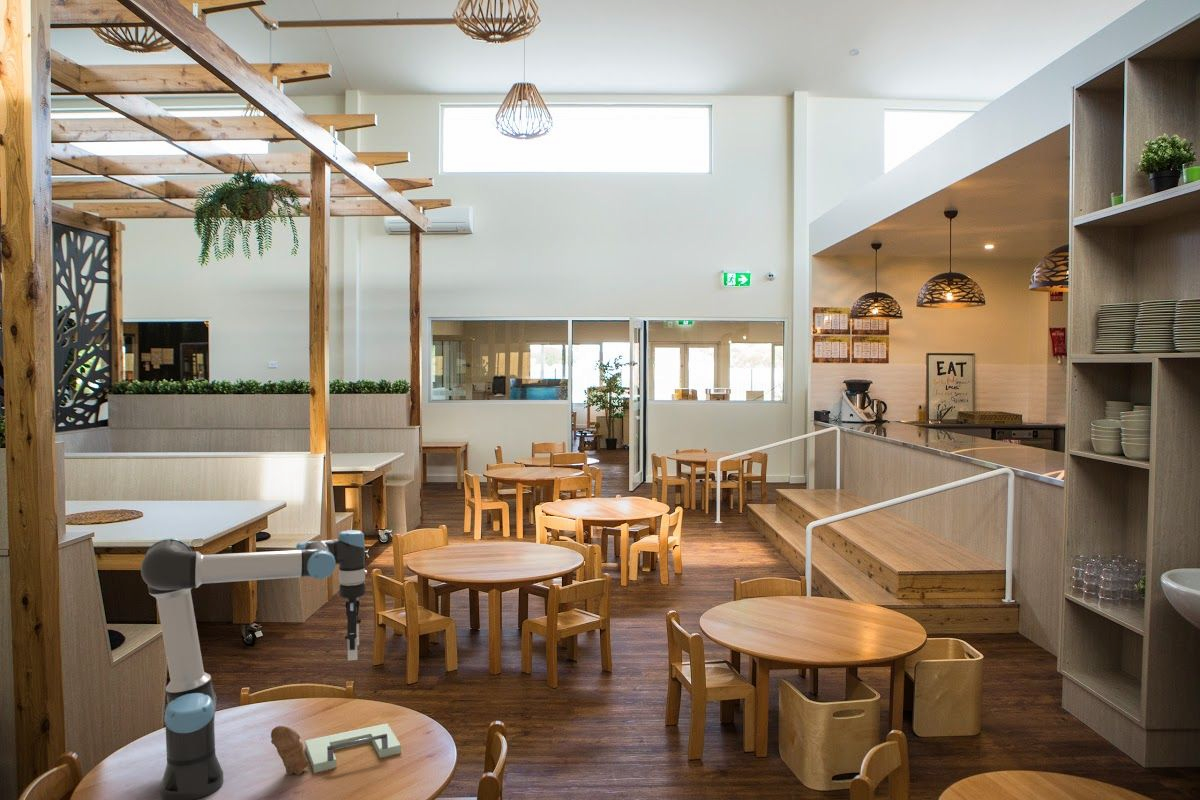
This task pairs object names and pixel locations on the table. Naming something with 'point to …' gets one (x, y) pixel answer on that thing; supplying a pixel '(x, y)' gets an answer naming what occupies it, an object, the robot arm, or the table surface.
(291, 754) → the figurine
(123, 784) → the table surface
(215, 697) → the robot arm
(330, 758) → the bar handle
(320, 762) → the pale green u-shaped slab
